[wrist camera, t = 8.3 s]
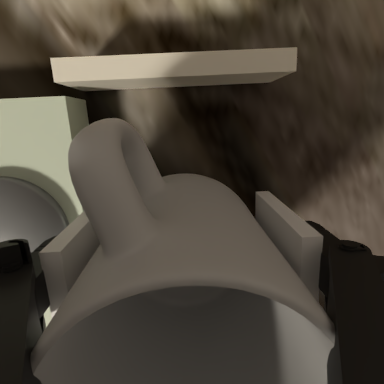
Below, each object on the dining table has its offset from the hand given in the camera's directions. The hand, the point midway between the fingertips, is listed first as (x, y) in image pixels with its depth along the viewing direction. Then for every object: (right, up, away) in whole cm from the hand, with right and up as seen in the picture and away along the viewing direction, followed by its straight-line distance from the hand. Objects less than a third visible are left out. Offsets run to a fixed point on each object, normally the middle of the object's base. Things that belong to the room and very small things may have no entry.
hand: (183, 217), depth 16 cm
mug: (-1, 0, +1) cm, 1 cm away
